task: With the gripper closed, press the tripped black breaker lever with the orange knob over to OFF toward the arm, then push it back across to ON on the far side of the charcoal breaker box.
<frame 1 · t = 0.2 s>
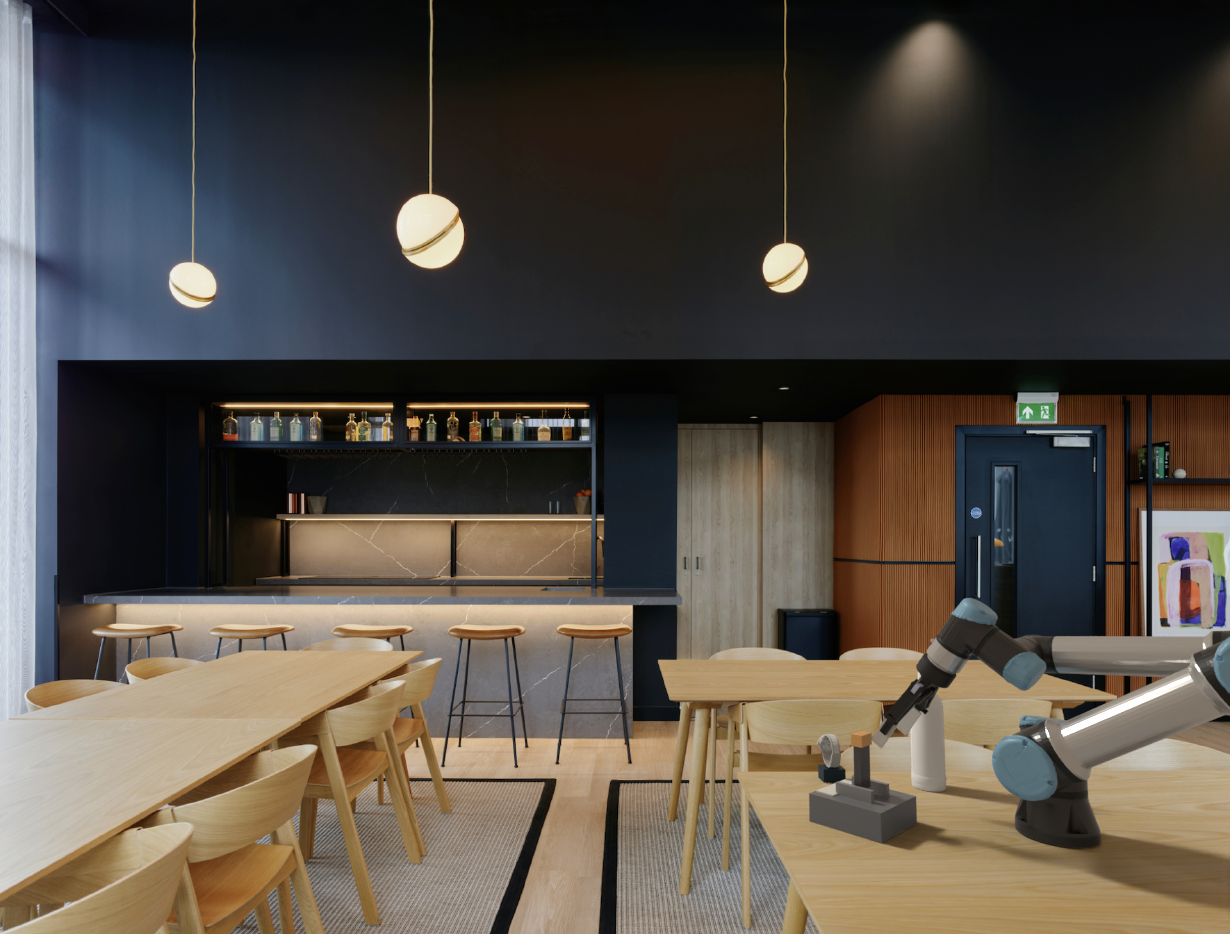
hand: (888, 737, 164), 16 cm above the table, tool tilted 35°, fingers open, 13 cm apart
breaker box: (863, 822, 156), on the table
bottle: (928, 787, 181), on the table
breaker lever: (861, 760, 157), point 13 cm above the table, hinge at 0.0°
watch: (831, 780, 185), on the table
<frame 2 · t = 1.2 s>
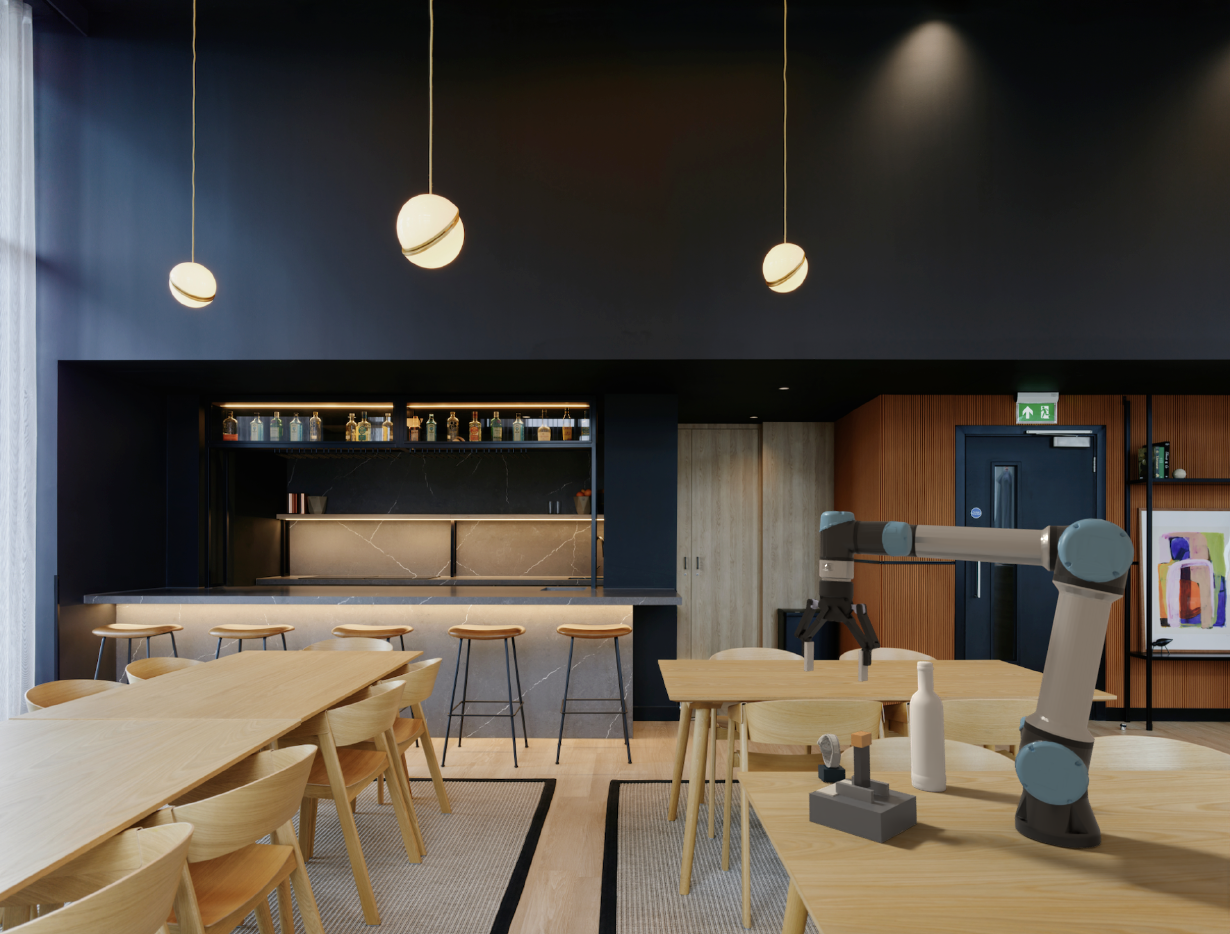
hand: (835, 675, 164), 29 cm above the table, tool pointing down, fingers open, 13 cm apart
nothing on the table moved.
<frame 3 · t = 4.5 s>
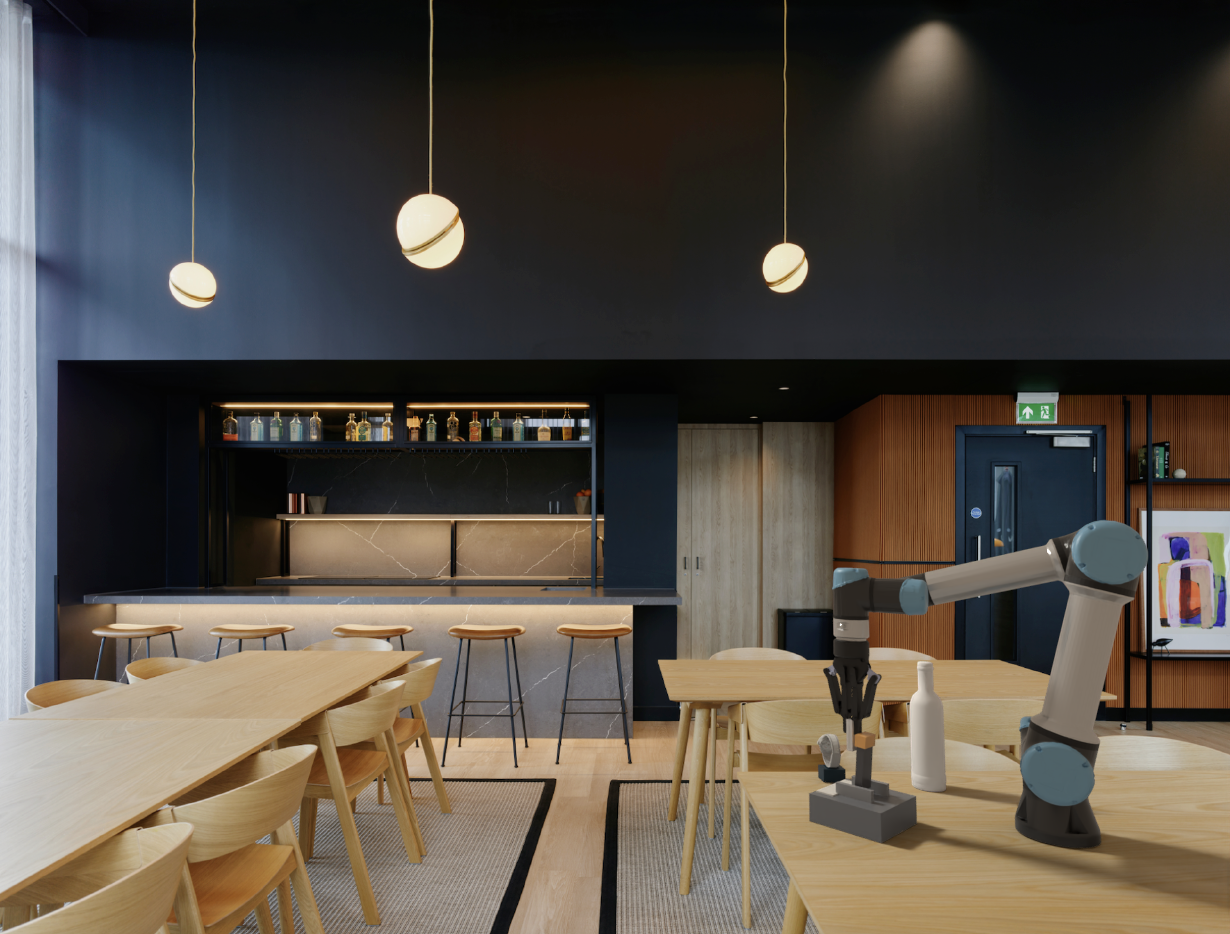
hand: (852, 749, 159), 14 cm above the table, tool pointing down, fingers closed
breaker lever: (864, 761, 157), point 13 cm above the table, hinge at -4.5°, touching gripper
everything else where it was.
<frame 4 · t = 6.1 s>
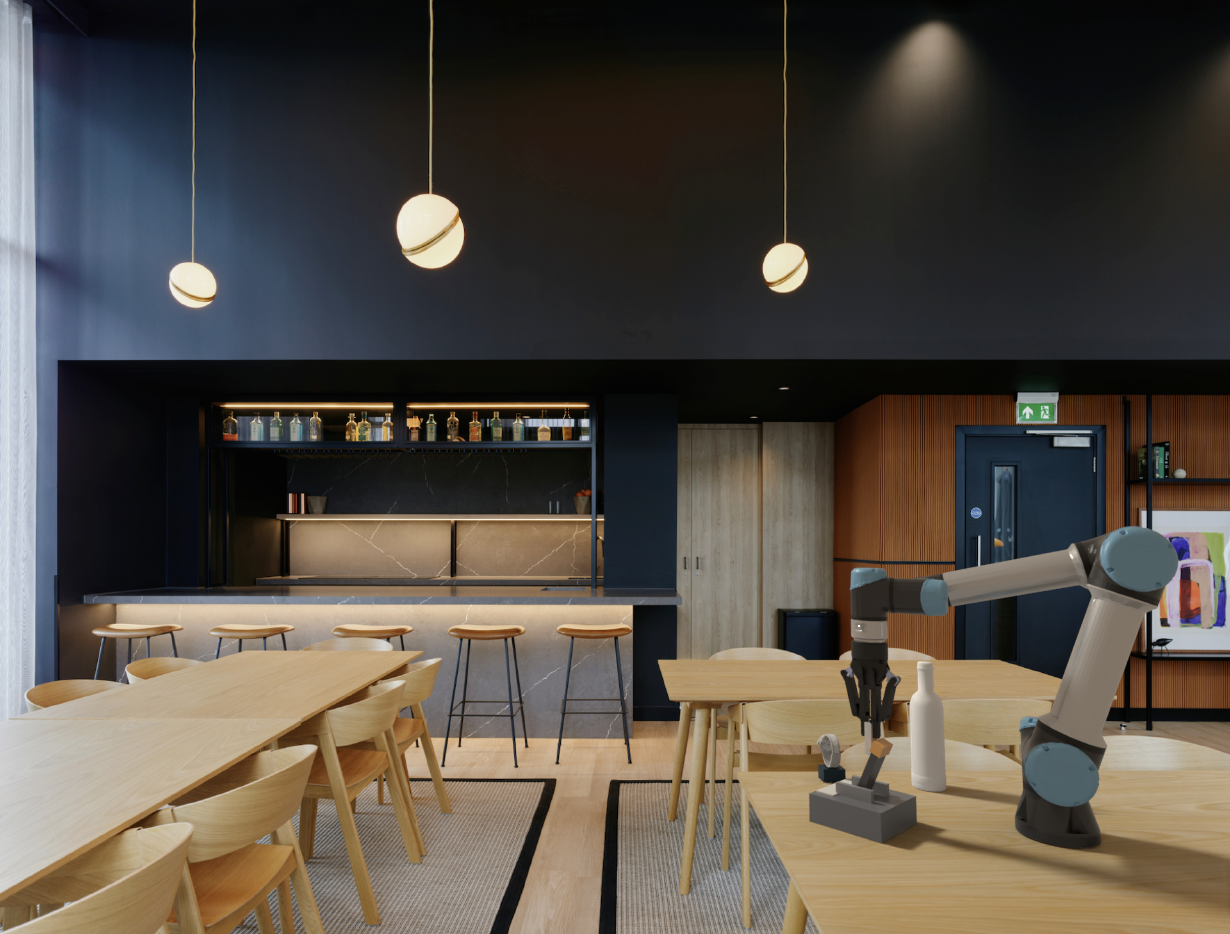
hand: (871, 753, 156), 15 cm above the table, tool pointing down, fingers closed
breaker lever: (873, 765, 155), point 12 cm above the table, hinge at -23.6°, touching gripper
everything else where it was.
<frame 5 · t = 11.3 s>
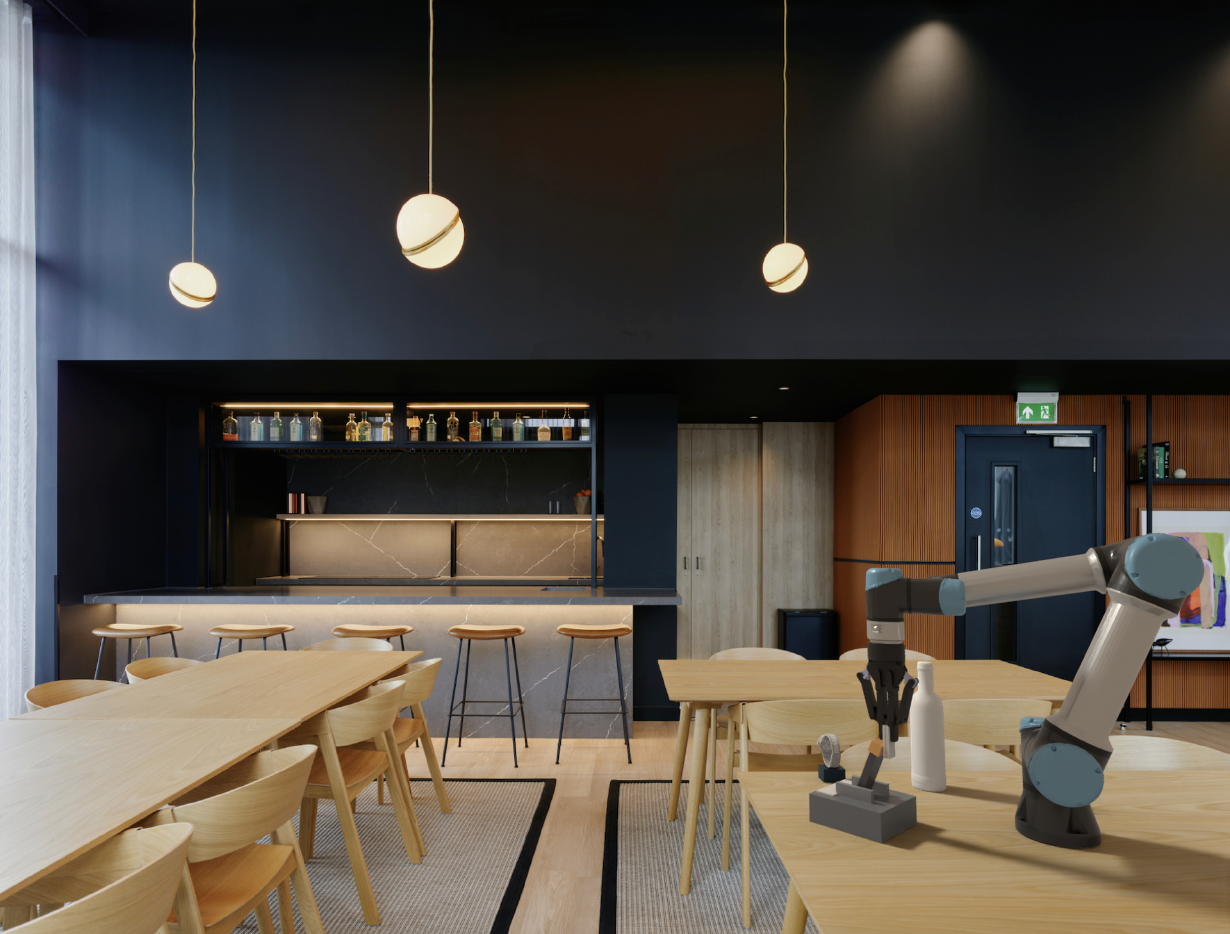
hand: (889, 757, 153), 15 cm above the table, tool pointing down, fingers closed
breaker lever: (872, 765, 156), point 12 cm above the table, hinge at -21.8°, touching gripper
everything else where it was.
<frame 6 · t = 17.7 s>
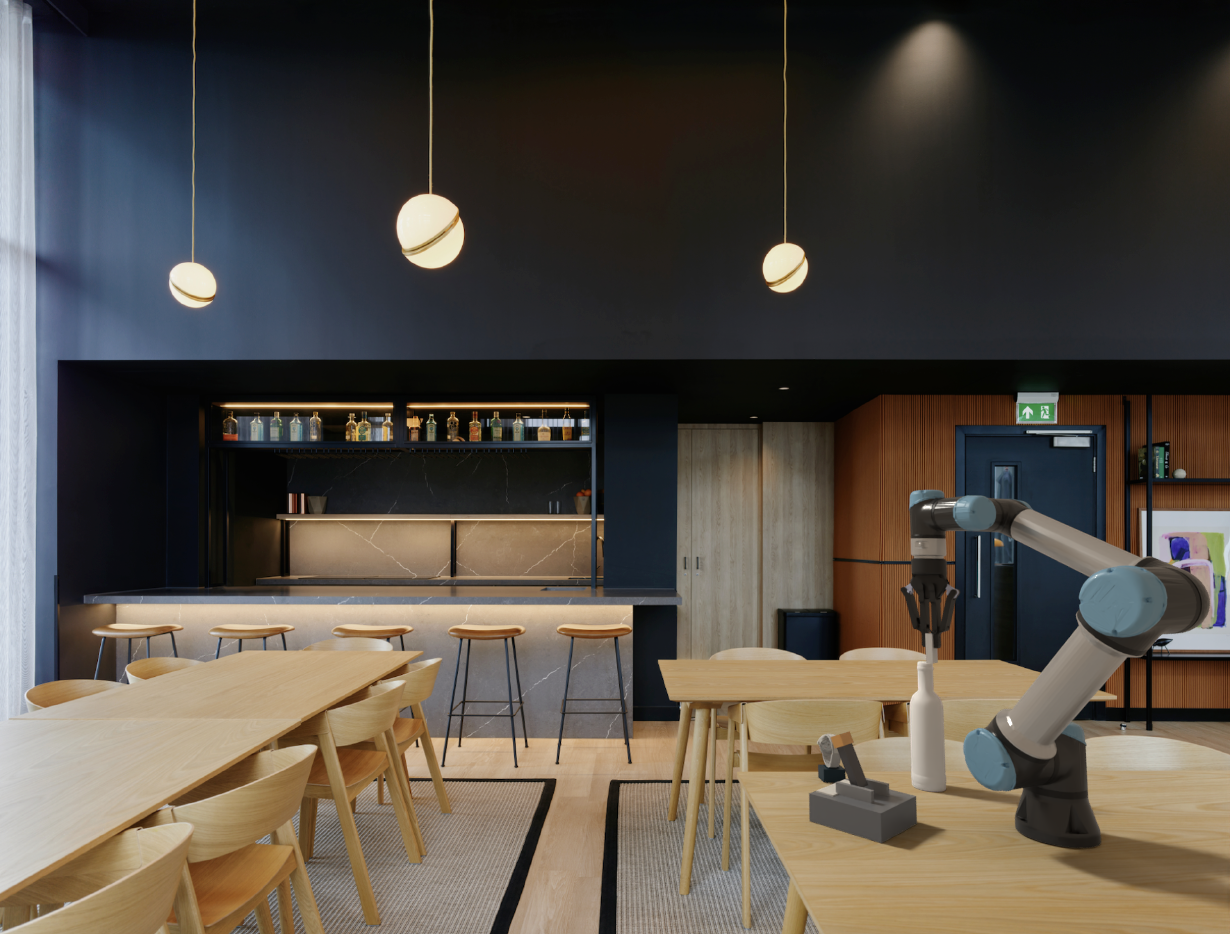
hand: (931, 662, 166), 32 cm above the table, tool pointing down, fingers closed
breaker lever: (850, 760, 159), point 12 cm above the table, hinge at 24.3°
everything else where it was.
at the end: breaker lever at +24° (first picture: +0°); watch moved 0.2 cm from its start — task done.
